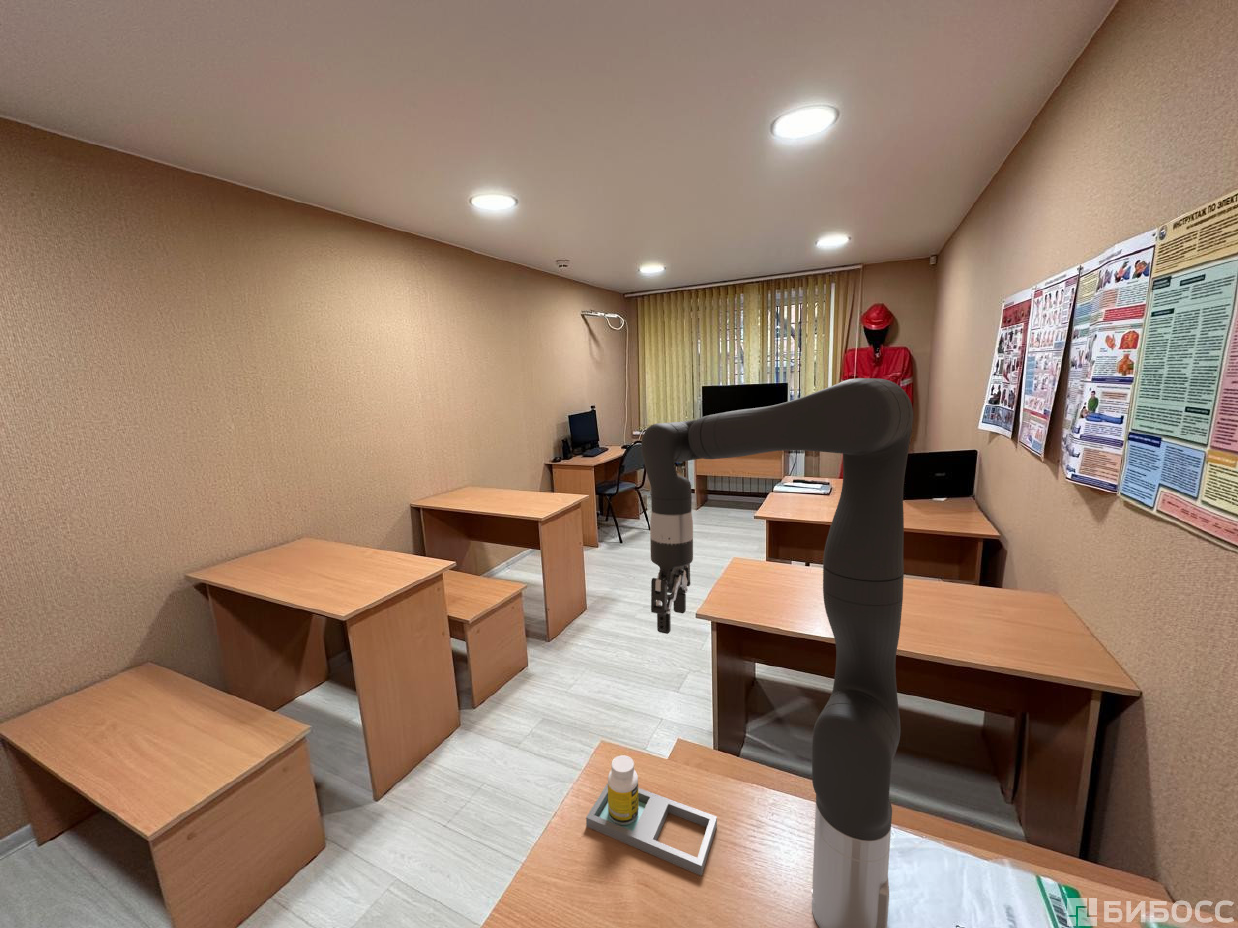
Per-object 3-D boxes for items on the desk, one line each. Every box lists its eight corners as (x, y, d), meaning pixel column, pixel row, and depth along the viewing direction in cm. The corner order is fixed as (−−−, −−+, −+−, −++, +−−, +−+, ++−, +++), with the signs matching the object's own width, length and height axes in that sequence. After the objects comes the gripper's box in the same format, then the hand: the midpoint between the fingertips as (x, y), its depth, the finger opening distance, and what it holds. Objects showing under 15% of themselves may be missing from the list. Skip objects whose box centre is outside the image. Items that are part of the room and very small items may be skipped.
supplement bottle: (636, 828, 81) (635, 777, 80) (605, 824, 82) (603, 773, 81) (640, 802, 86) (639, 753, 85) (611, 798, 87) (610, 750, 86)
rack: (716, 825, 82) (717, 816, 81) (701, 875, 73) (701, 865, 73) (611, 785, 90) (610, 777, 90) (586, 826, 82) (586, 817, 82)
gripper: (678, 549, 76) (679, 644, 78) (703, 527, 88) (703, 609, 91) (635, 544, 79) (637, 635, 81) (665, 523, 92) (666, 602, 94)
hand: (672, 621), depth 86 cm, fingers open, 8 cm apart
